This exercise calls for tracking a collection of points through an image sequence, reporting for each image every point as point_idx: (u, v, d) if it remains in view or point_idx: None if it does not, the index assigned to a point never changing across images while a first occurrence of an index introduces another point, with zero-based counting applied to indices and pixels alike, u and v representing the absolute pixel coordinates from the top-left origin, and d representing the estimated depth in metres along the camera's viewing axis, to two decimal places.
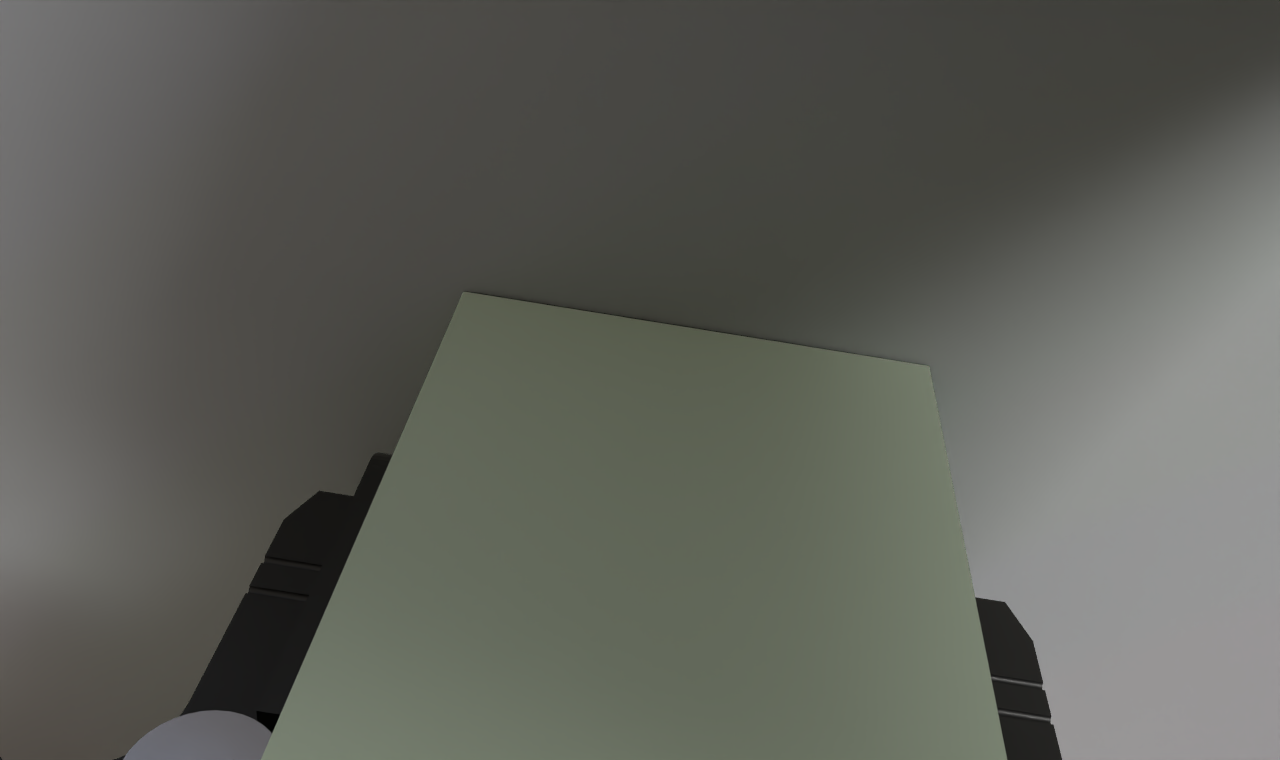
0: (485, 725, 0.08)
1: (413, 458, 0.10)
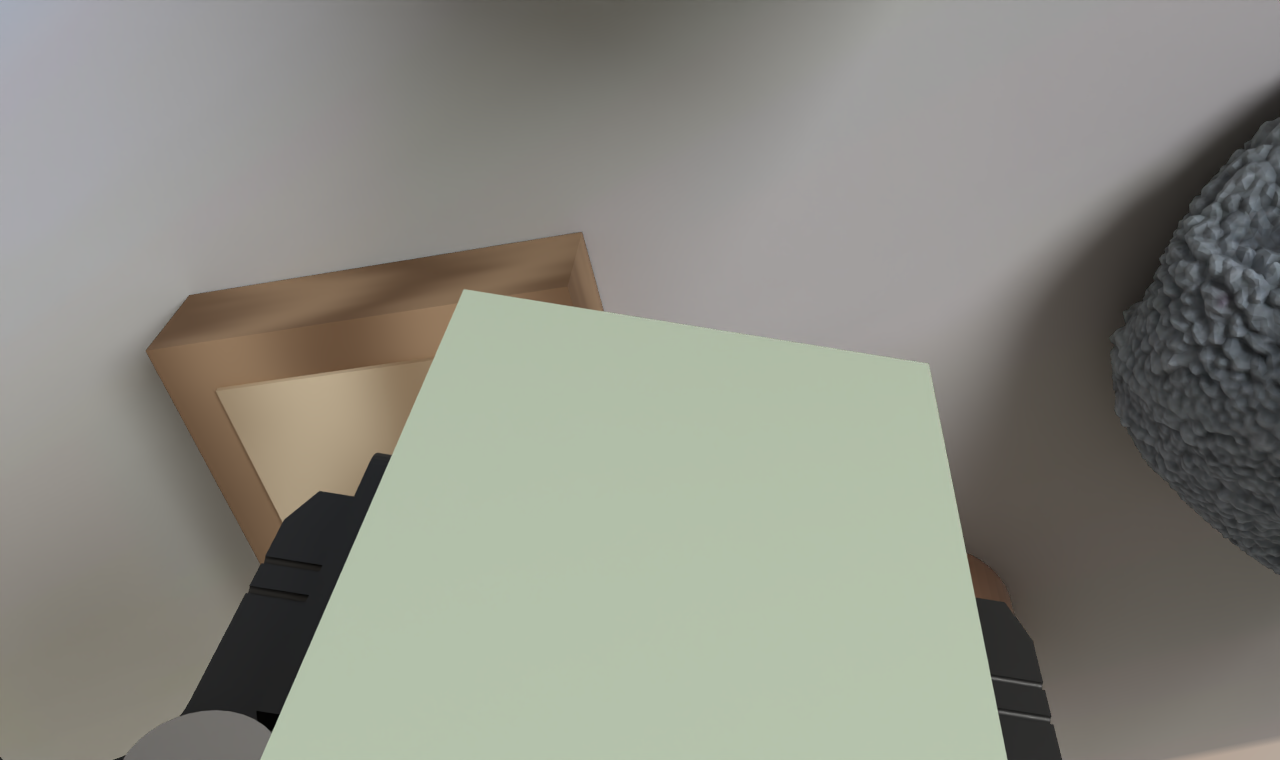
0: (485, 721, 0.08)
1: (414, 455, 0.10)
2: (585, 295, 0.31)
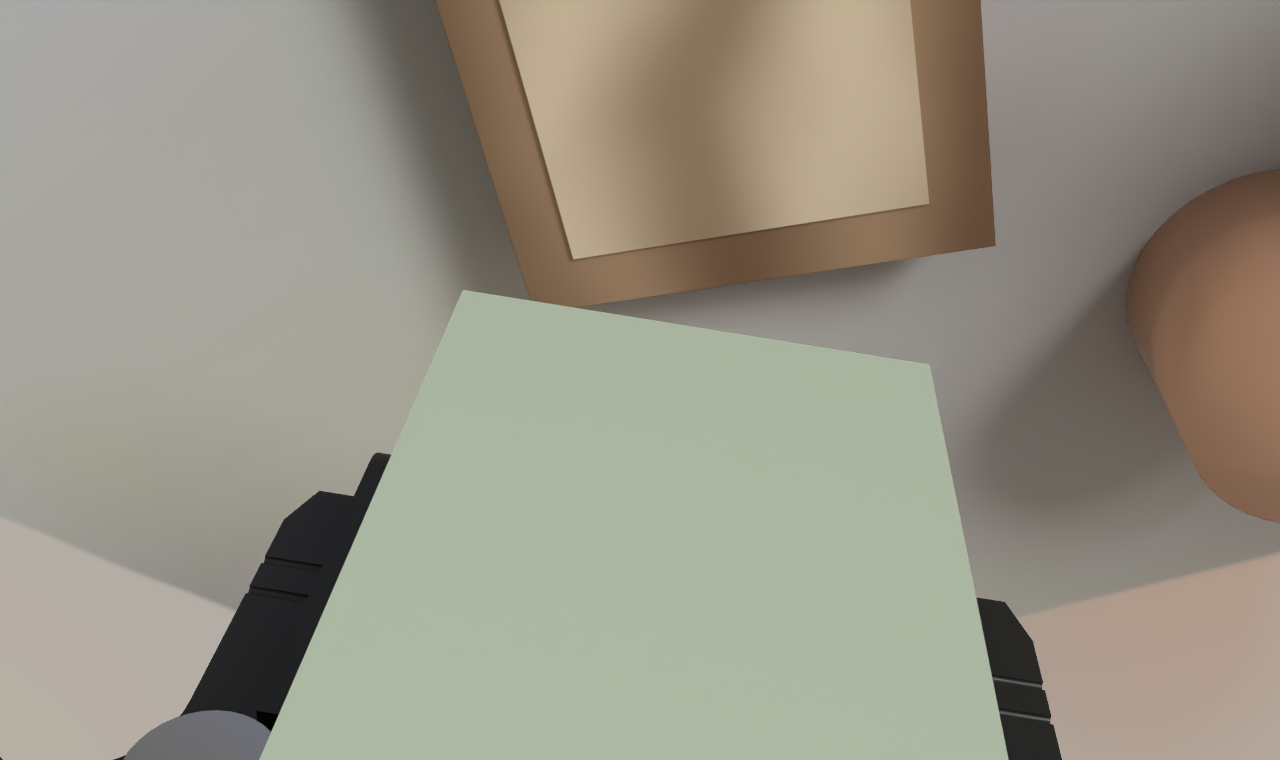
0: (484, 724, 0.08)
1: (412, 457, 0.10)
2: None
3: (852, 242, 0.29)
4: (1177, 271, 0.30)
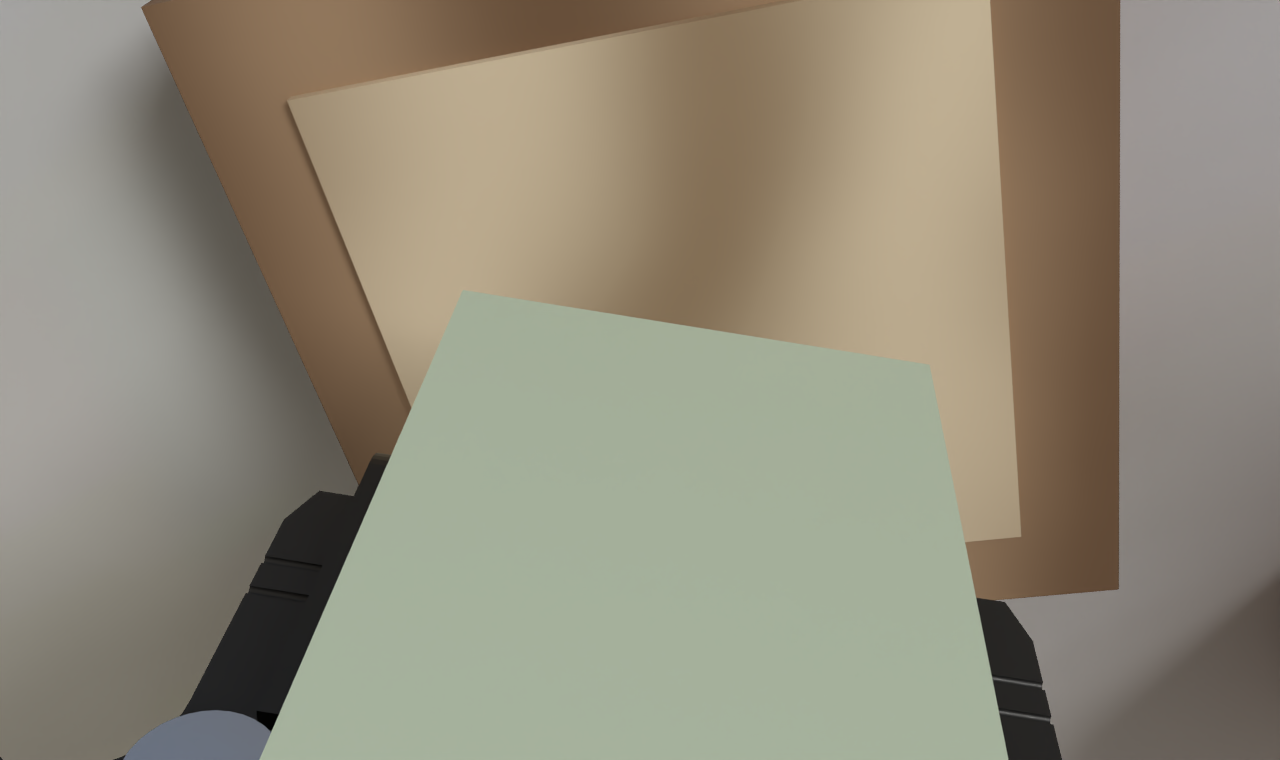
0: (484, 724, 0.08)
1: (412, 457, 0.10)
2: None
3: None
4: None
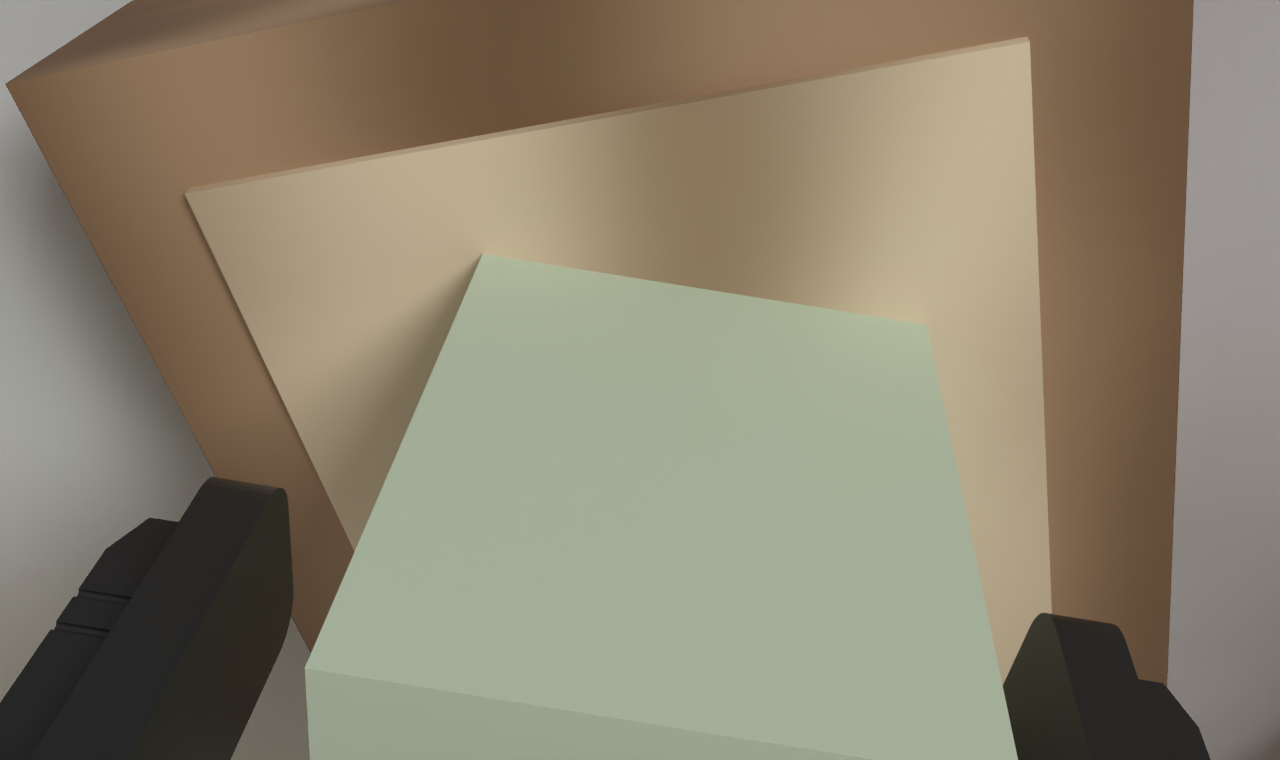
0: (513, 636, 0.08)
1: (440, 402, 0.11)
2: None
3: None
4: None
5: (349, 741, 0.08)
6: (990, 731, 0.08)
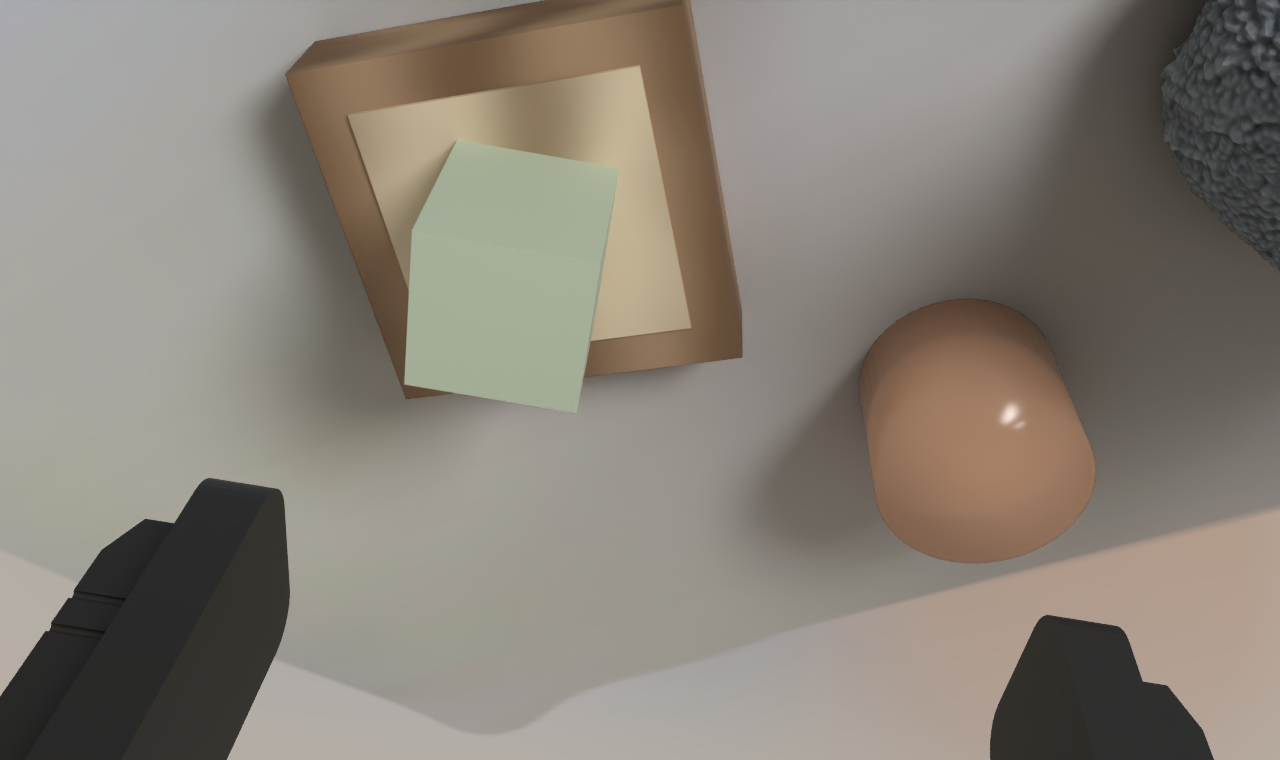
0: (467, 228, 0.31)
1: (444, 179, 0.33)
2: (690, 28, 0.35)
3: (638, 353, 0.39)
4: (881, 374, 0.40)
5: (422, 255, 0.31)
6: (596, 254, 0.31)
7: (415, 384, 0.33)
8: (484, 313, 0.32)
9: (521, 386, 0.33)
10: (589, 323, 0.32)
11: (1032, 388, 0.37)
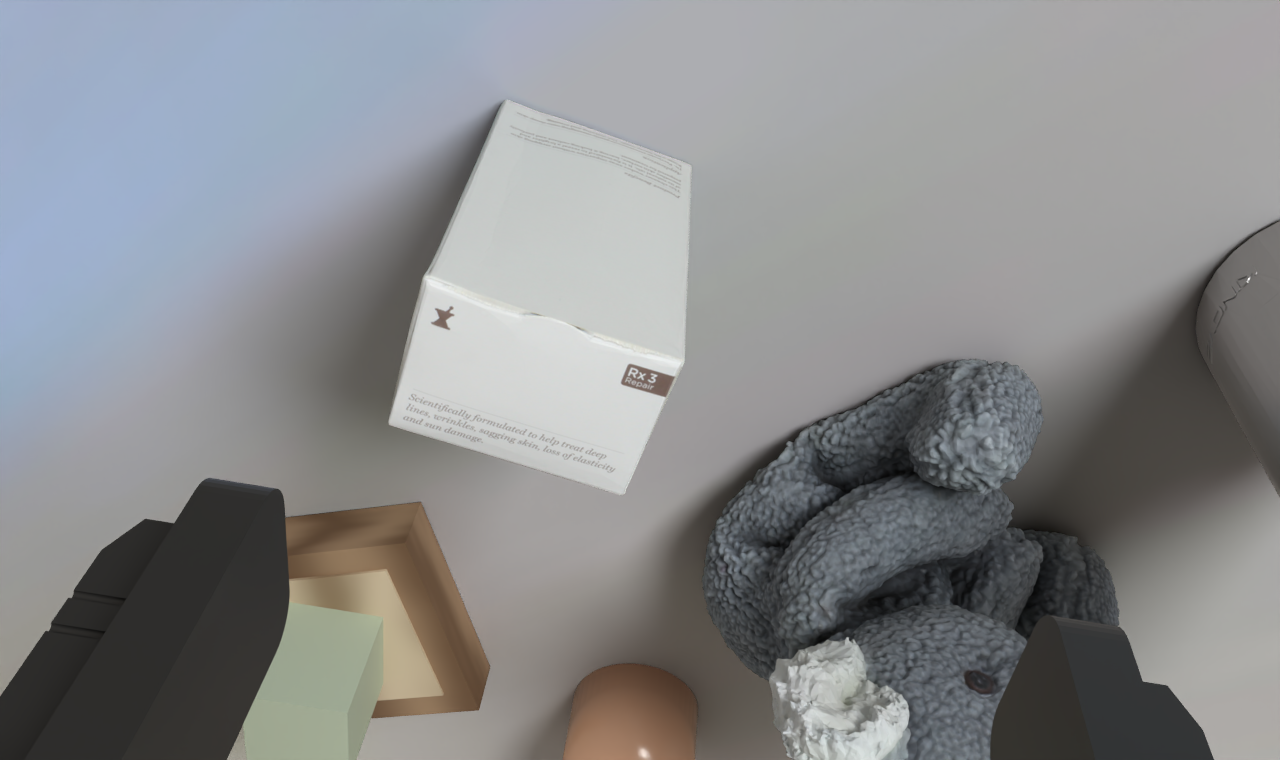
0: (273, 690, 0.54)
1: None
2: (421, 539, 0.57)
3: (414, 706, 0.62)
4: (573, 714, 0.63)
5: None
6: (346, 705, 0.53)
7: None
8: (286, 732, 0.54)
9: None
10: (347, 739, 0.54)
11: (644, 746, 0.59)
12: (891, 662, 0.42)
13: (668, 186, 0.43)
